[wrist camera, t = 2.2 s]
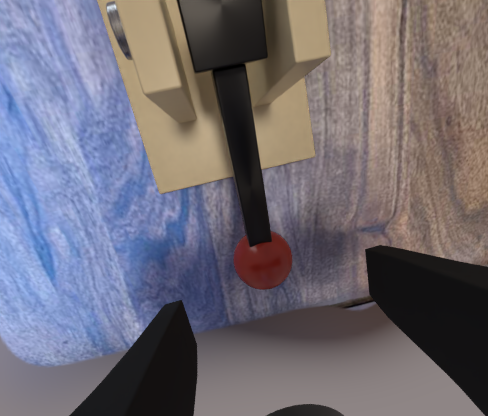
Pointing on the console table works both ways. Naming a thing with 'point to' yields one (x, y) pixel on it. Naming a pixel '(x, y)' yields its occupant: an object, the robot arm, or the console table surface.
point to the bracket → (202, 89)
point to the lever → (238, 123)
